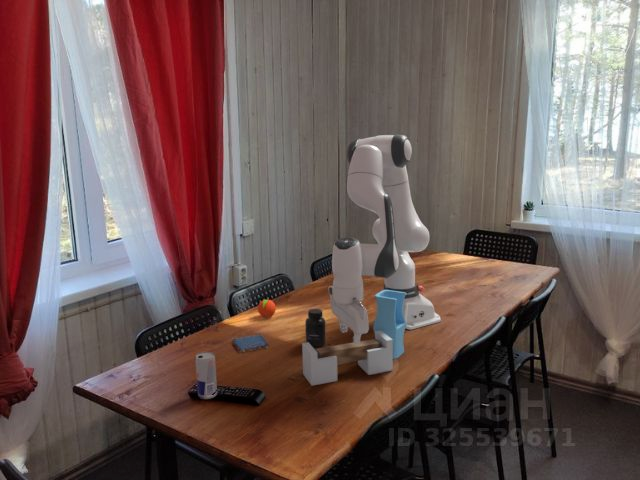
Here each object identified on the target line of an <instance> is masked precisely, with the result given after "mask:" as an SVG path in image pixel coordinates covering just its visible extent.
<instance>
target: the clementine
mask: <svg viewBox="0 0 640 480" xmlns="http://www.w3.org/2000/svg"><path fill="white" fill-rule="evenodd" d="M276 308H277V307H276V305H275V303H274V302H273V301H272V300H271V299H263V300H261V301H260V302H259V303H258V306H257V311H258V312H257V313H258V314H259V315H260V316H261V317H263V318H271V317H272V316H274V315H275V314H276V310H277V309H276Z"/></svg>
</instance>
